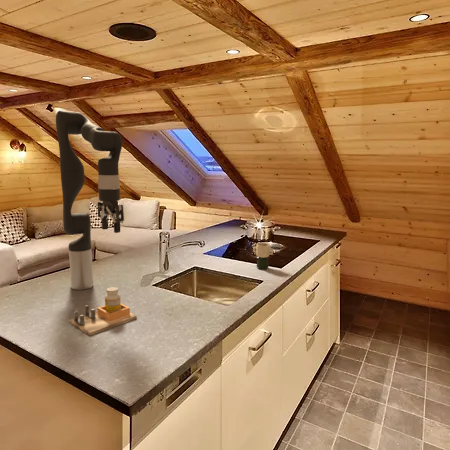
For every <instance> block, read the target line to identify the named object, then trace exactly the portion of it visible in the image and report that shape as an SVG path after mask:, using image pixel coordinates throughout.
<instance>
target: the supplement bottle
mask: <svg viewBox="0 0 450 450" xmlns="http://www.w3.org/2000/svg"><path fill="white" fill-rule="evenodd" d="M121 304H122V303H121V294H120V293H119V288H118V287H116V286H115V287H114V286H112V287H107V288H106V294H105V295H104V306H105V309H106V311H107V312H109V313H112V312H115V311H118V310H121Z"/></svg>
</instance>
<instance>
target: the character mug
mask: <svg viewBox="0 0 450 450" xmlns="http://www.w3.org/2000/svg"><path fill="white" fill-rule="evenodd" d="M252 251H253V253H255V255H256V256H257V257H258V258H257V261H256V262H257V263H256V268H258V269H262V270H263V269H264V270H265V269H268V268H269V259H268V257H270V255H271V256H272V255H273V254H274V249H273V248H271V244H270V243H269V242H268V243H266V242H257V243H256V246H253V250H252Z"/></svg>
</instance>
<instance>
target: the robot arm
mask: <svg viewBox="0 0 450 450" xmlns="http://www.w3.org/2000/svg"><path fill="white" fill-rule="evenodd" d="M55 127H56V136H57V141H58V150H59V151H58V152H59V168H60V181H61V182H60V183H61V190H62V214H63V215H62V222H63V223H62V224H63V230H64V231H63V232H64V234H65V235H68V236H69V235H71V236H72V235H73V236H74V235H81V237H79V238H78V239H76V240H73V241H71V242H69V243H68V257H69V259H68V260H69V272H70V274H69V275H70V286H71V289H72V290H75V291H76V290H78V291H81V290H88V289H91V288H92V287H94V271H93V253H92V243H91V242H92V239H91V238H92V237H91V236H92V235H91V215H90V213H88V212H72V209H73V208H72V207H73V205H74V202H75V200H76V198H77V197H78V195H79V193H80V192H81V190H82V189H83V187H84V185H85V183H86V181H85V167H84V164H83V163H82V161H81V159H80V158H79V156H78V155H77V153H76V152H75V151H74V149H73V147H72V145H71V143H70V139H69V135H76V136H78V135H80V136H82V138H83V139H84V140H85V142H88V143H89V144H90V145H91V146H92V148H93V150H95V151H98V152H109V154H108V156H107V157H102V158H100V159H98V160H97V174H98V178H97V186H98V189H97V190H98V200H99V201H98V202H97V217H98V218H100V220H101V229H102V230H108V229H109V219H108V218H109V217H110V218H111V219H112V221H113V232H114V234H118V233H120V232H121V222H124V221H125V216H124V215H125V213H124V205H123V204H118V201H120V200H121V186H120V185H121V184H120V176H119V173H120V172H119V161H120V158H121V152H122V148H123V138H122V136H121V134H120V132H119V133H118V132H117V131H108V130H107V131H106V130H105V129H103V127H100V126H98V125H97V124H95V123H93V122H92V121H91V120H90V119H88V117H86V115H84V114H83V113H82V112H80V111H71V110H58V111H57V112H56V115H55Z"/></svg>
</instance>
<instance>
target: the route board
mask: <svg viewBox="0 0 450 450" xmlns="http://www.w3.org/2000/svg"><path fill="white" fill-rule="evenodd" d="M89 313H90V314H91V312H89ZM83 315H84V323H85V325H84V326H81V325H79V324H78V323H76V322H75V321H74V317H73V318H71V319H69V322H70V324H72V325H74V326H75V327H77V328H78V329H80V330H81V331H82V332H84V333H85V334H87V335H88V336H92V335H95V334H98V333H100V332H103V331H106V330H109V329H111V328H114V327H117V326H120V325H123V324H125V323H127V322H131V321H133V320H137V318H138V317H137V316H138V315H136V314H134V313H132V312H130V314H129V315H126V316H123V317H120V318H118V319H115V320H112V321H108V320H107V319H105V318H103V317H101V316H100V315H98V310H95V317H96V319H93V320H92V319H91V318H89V317H87V316H86V315H85V314H83ZM78 319H79V320H80V316H78Z"/></svg>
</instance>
